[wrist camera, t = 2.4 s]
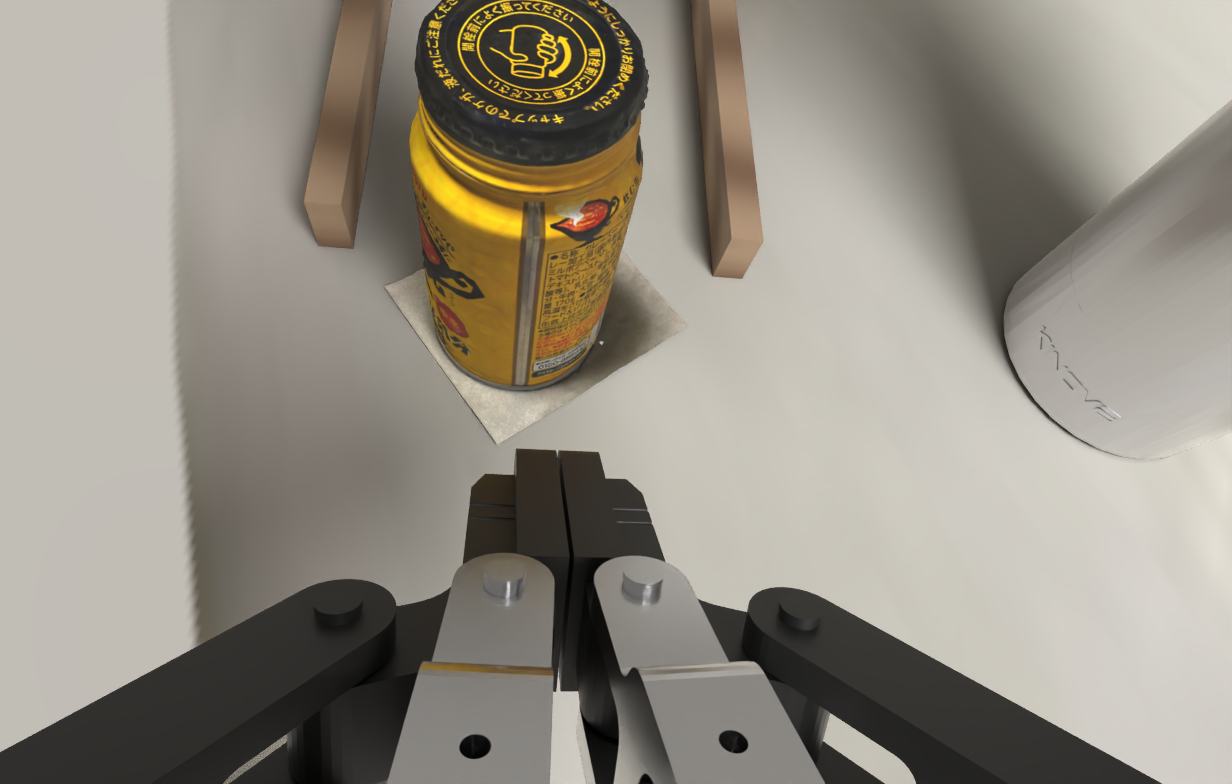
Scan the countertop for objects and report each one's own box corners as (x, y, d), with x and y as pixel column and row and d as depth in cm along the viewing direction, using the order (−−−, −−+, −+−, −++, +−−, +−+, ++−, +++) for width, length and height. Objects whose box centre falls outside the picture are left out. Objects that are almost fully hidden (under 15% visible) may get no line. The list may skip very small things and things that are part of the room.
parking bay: (742, 278, 29) (777, 215, 26) (318, 245, 27) (292, 171, 23) (707, -63, 38) (731, -146, 34) (383, -111, 35) (371, -206, 32)
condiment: (384, 289, 27) (315, -8, 16) (573, 195, 30) (623, -108, 19) (497, 448, 25) (505, 234, 14) (686, 329, 28) (811, 80, 17)
